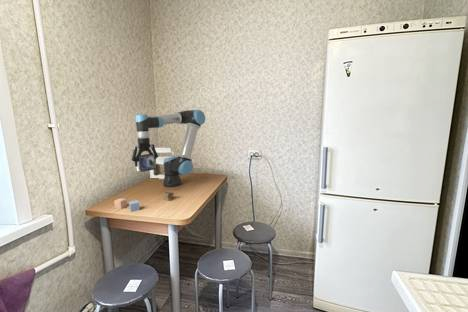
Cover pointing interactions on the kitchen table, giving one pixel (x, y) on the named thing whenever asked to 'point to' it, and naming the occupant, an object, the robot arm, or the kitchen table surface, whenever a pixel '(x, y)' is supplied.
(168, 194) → the walnut block
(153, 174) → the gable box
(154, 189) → the kitchen table surface
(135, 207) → the slate block
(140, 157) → the small box
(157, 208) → the kitchen table surface
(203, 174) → the kitchen table surface
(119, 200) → the terracotta block
